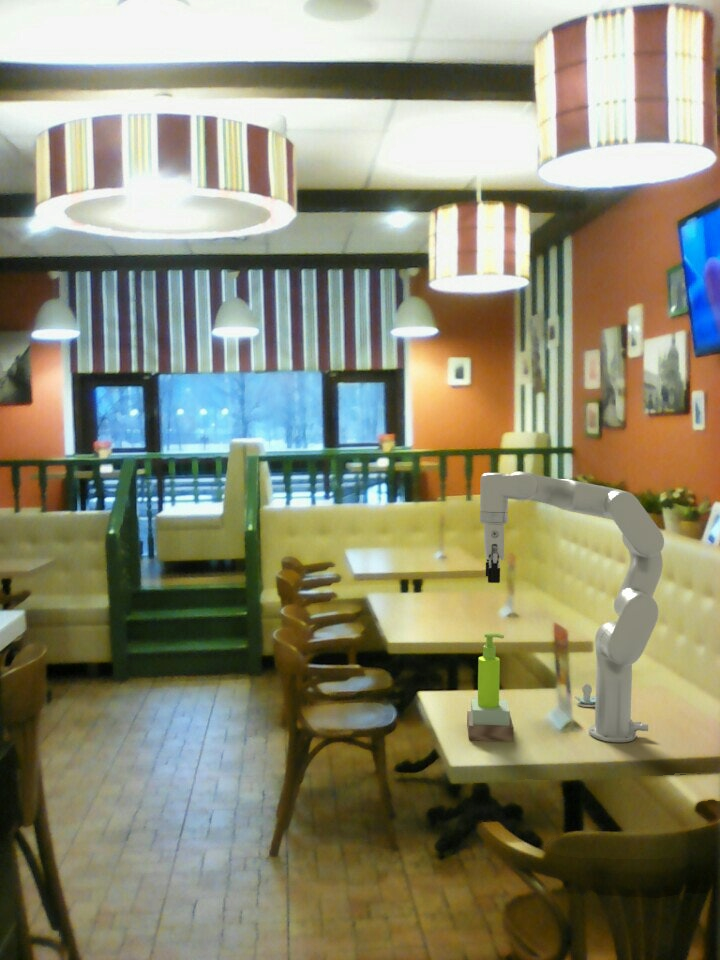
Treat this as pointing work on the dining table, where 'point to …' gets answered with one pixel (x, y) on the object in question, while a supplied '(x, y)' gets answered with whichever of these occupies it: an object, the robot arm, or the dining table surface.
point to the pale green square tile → (490, 714)
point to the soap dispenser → (489, 674)
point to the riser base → (489, 731)
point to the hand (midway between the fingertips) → (492, 579)
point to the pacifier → (586, 697)
